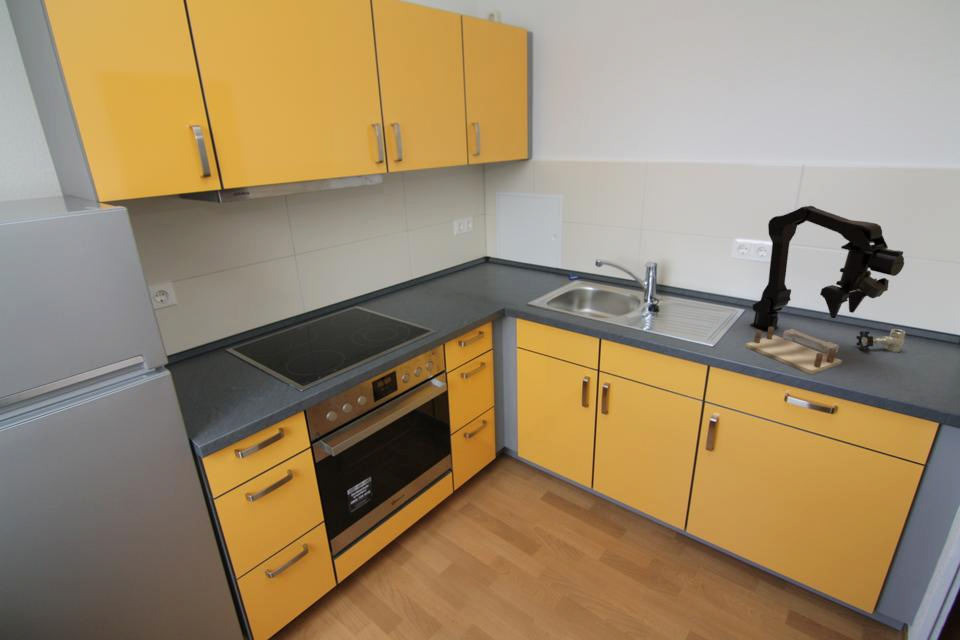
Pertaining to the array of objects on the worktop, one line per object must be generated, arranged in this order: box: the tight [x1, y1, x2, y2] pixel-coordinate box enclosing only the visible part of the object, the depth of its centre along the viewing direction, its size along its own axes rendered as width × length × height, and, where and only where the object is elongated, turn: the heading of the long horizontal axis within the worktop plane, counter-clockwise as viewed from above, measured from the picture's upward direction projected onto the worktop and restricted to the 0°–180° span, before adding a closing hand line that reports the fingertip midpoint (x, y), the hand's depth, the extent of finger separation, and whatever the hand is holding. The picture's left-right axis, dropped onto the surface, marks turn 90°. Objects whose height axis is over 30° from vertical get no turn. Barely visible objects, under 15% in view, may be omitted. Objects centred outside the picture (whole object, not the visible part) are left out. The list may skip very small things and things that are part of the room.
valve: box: [855, 328, 906, 353], centre depth 158 cm, size 7×7×12 cm
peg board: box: [744, 327, 843, 375], centre depth 157 cm, size 22×14×5 cm, turn 26°
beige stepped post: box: [782, 328, 840, 355], centre depth 164 cm, size 16×4×2 cm, turn 26°
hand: (842, 315), depth 153 cm, fingers open, 9 cm apart
